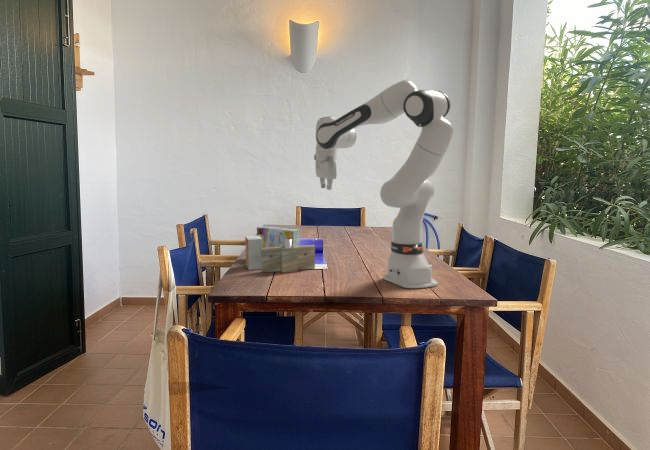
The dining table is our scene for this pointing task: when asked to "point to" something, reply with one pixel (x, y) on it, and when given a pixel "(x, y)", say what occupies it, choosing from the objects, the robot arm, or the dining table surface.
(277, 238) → the snack box
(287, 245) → the hinge pin
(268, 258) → the hinge
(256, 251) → the small box
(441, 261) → the dining table surface
